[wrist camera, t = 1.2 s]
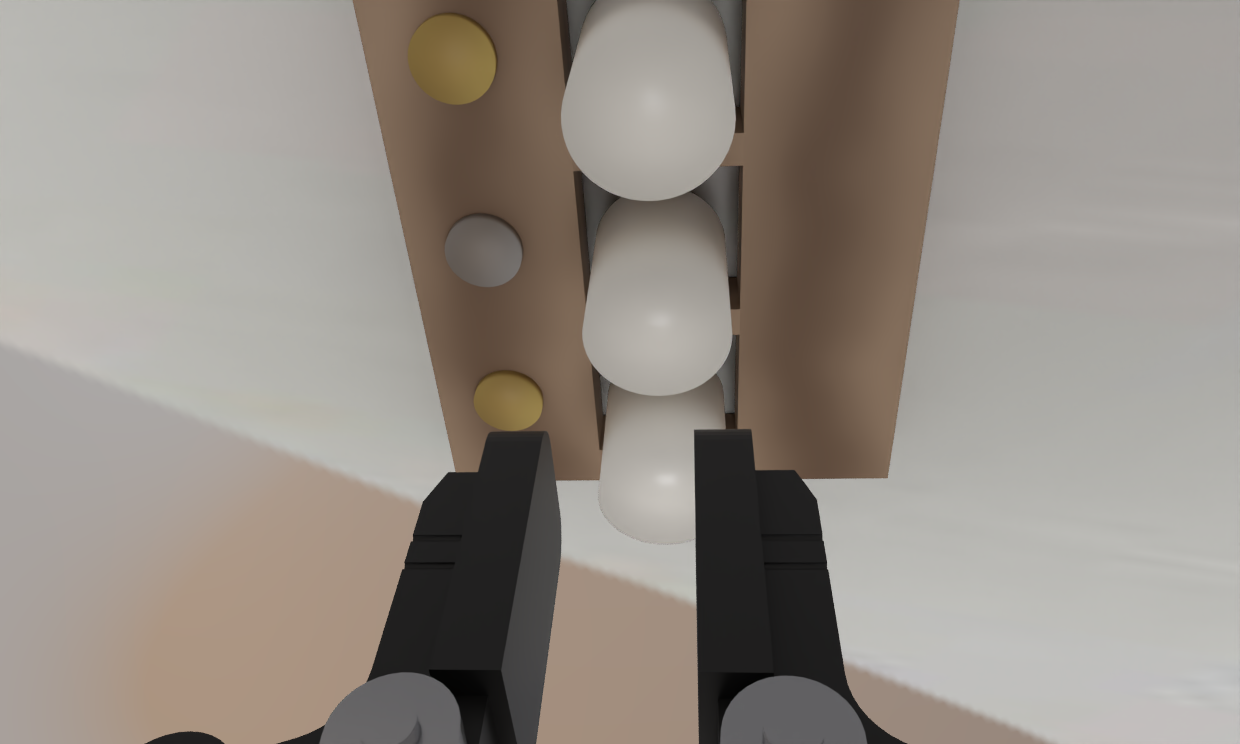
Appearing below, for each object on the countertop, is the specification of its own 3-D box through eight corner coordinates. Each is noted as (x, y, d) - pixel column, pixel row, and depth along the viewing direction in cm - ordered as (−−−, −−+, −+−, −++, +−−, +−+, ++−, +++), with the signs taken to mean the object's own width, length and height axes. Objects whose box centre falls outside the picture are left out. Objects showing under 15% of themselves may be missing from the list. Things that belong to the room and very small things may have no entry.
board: (959, -145, 24) (983, -129, 22) (878, 442, 36) (889, 485, 34) (353, -112, 26) (326, -93, 24) (467, 446, 38) (455, 488, 36)
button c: (724, 349, 32) (730, 449, 28) (723, 440, 34) (728, 544, 30) (604, 351, 32) (593, 450, 28) (611, 441, 34) (602, 544, 30)
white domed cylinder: (727, -32, 24) (737, 29, 20) (726, 118, 27) (734, 198, 23) (573, -24, 25) (552, 37, 21) (585, 123, 27) (569, 203, 23)
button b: (725, 183, 28) (733, 270, 24) (724, 298, 30) (731, 395, 26) (591, 187, 28) (576, 274, 24) (600, 300, 31) (588, 396, 27)
